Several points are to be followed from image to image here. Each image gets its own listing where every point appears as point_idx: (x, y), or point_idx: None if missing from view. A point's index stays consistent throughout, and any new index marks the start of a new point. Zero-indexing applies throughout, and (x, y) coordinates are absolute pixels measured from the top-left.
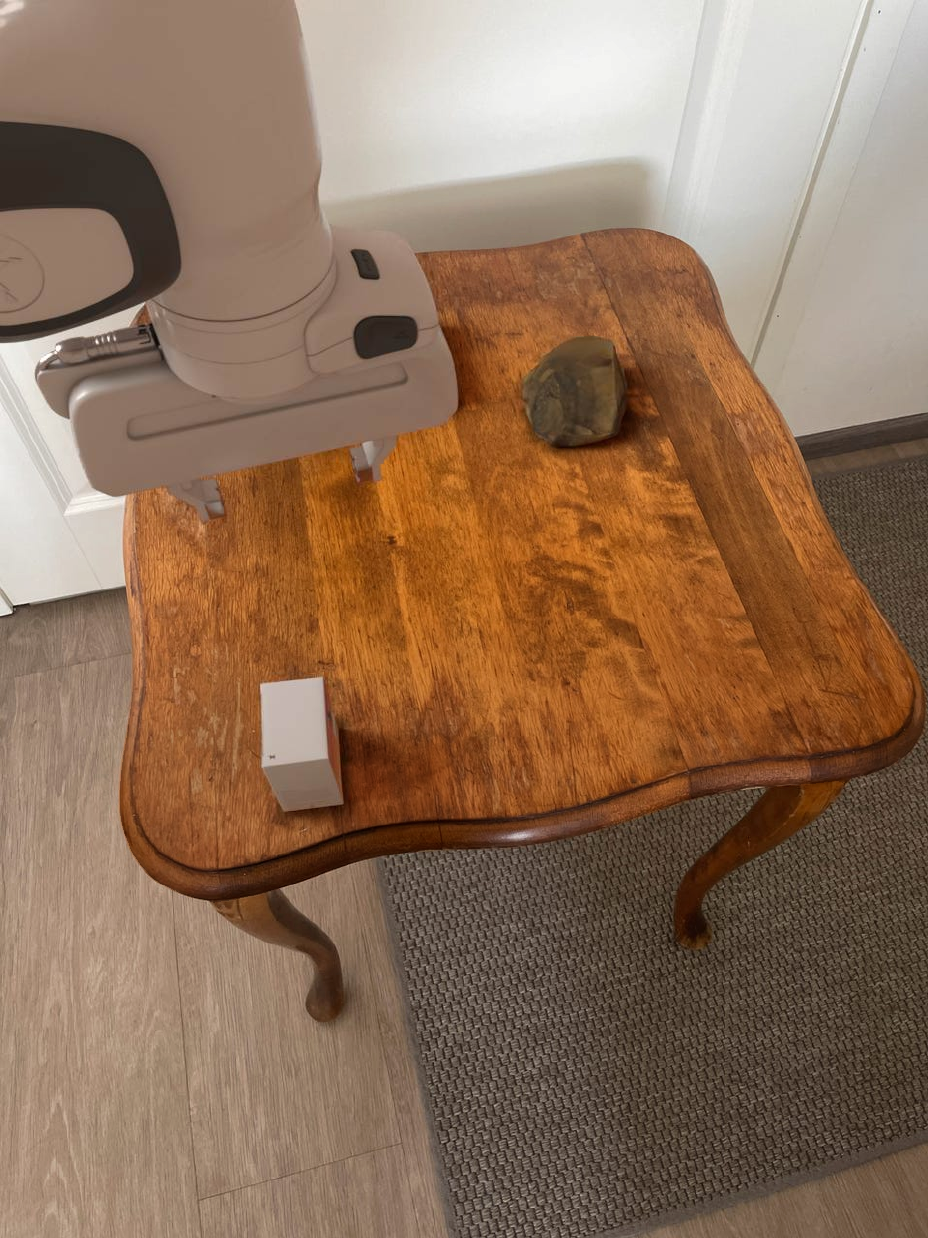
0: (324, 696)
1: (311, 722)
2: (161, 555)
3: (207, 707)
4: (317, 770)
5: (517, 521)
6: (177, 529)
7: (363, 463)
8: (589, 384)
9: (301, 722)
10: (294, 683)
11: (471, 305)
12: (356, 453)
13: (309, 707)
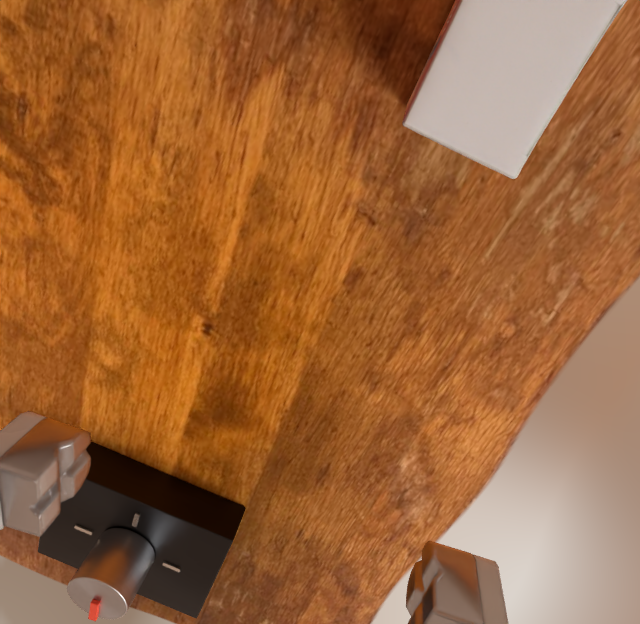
0: (424, 78)
1: (483, 27)
2: (466, 460)
3: (546, 246)
4: None
5: (50, 265)
6: (430, 476)
7: (13, 483)
8: None
9: (501, 40)
10: (459, 140)
11: None
12: (26, 515)
13: (465, 68)
